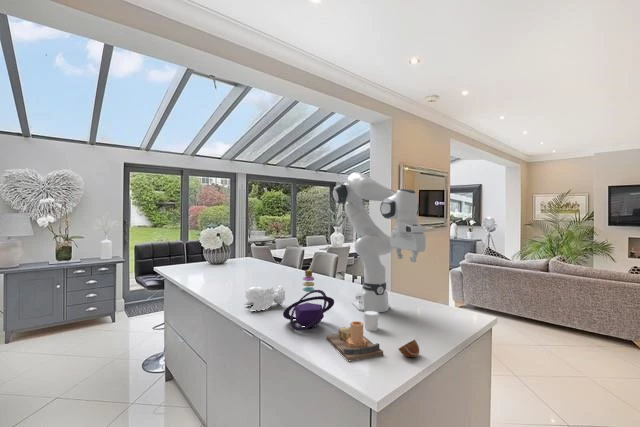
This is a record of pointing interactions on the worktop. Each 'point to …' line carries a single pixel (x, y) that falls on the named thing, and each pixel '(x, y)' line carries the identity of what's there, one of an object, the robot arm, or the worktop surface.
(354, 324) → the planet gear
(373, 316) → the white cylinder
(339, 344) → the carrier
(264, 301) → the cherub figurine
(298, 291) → the worktop surface
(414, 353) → the fruit slice
